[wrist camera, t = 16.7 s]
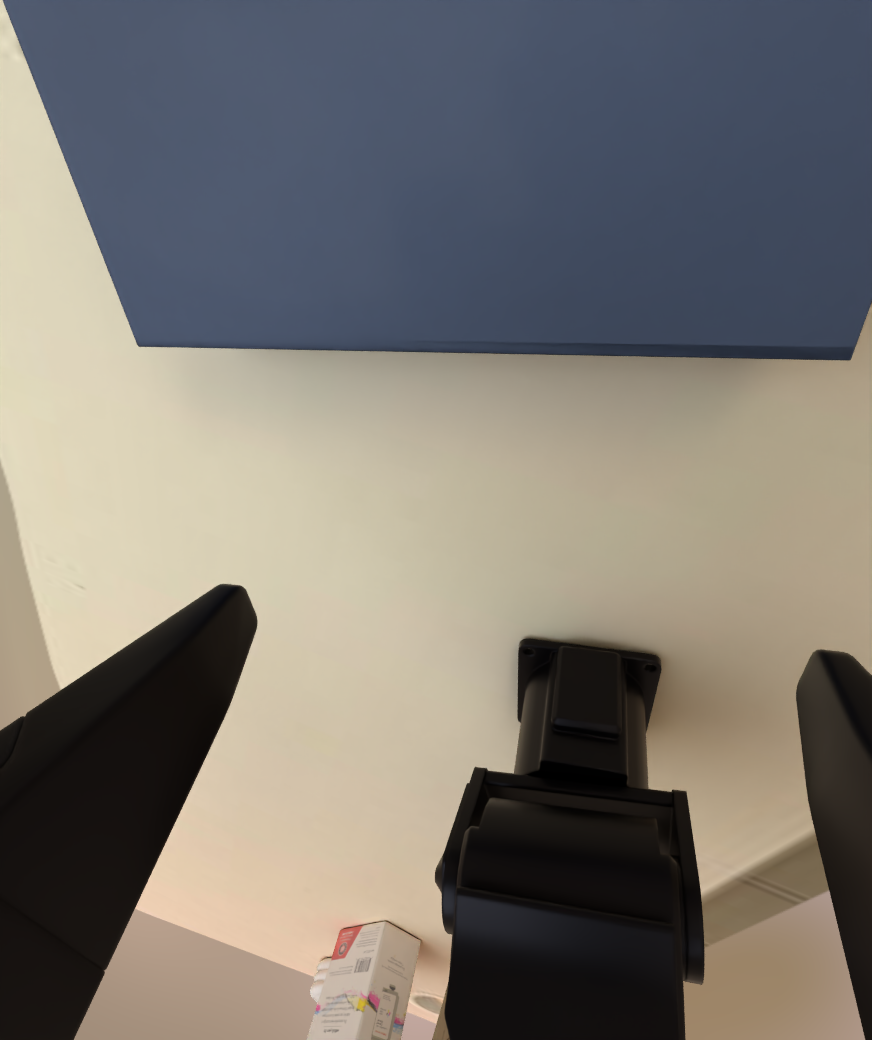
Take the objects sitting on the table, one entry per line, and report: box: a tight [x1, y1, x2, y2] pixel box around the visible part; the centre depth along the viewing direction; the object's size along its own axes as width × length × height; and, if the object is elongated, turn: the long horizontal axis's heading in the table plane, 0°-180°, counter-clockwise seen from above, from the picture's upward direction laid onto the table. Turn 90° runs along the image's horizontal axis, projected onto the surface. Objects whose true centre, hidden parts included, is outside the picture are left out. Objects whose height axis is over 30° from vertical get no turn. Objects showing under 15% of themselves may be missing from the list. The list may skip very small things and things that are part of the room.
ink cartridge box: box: [307, 921, 421, 1040], centre depth 56 cm, size 9×5×15 cm, turn 139°
